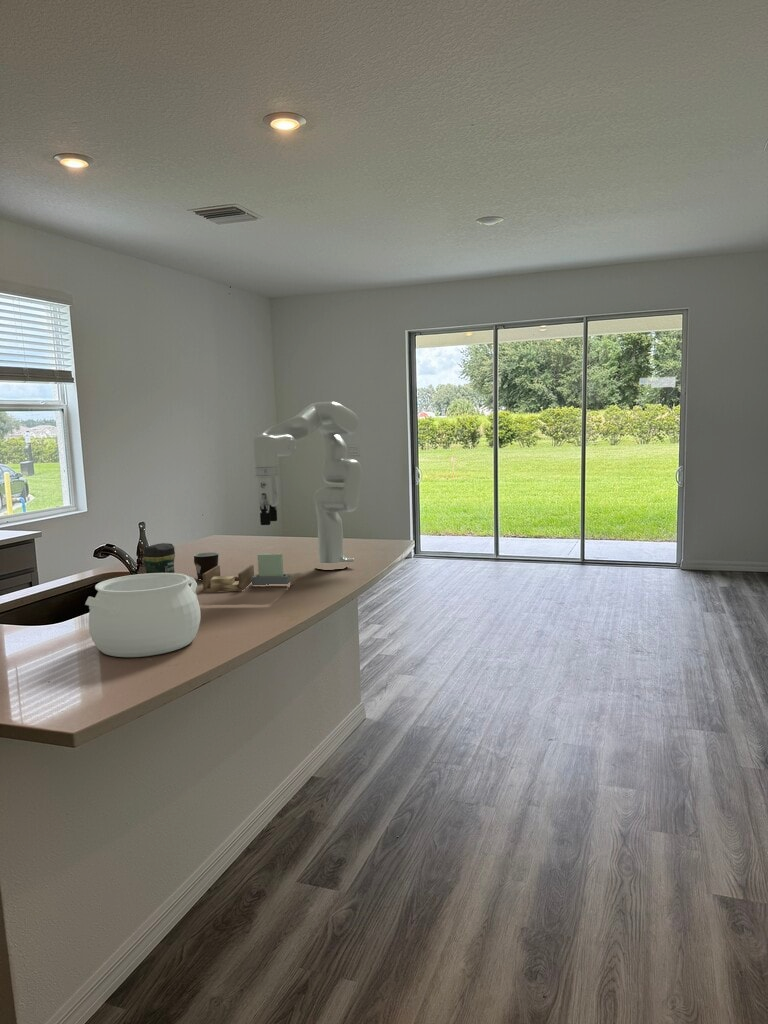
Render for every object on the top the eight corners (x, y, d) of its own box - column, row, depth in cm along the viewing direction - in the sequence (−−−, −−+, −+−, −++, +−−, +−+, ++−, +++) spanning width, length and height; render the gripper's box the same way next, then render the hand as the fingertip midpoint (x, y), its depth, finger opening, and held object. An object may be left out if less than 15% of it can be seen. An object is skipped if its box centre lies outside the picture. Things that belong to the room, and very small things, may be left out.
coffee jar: (162, 606, 216) (158, 546, 214) (141, 604, 219) (138, 545, 217) (182, 598, 225) (178, 542, 223) (162, 597, 228) (158, 541, 226)
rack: (254, 585, 243) (253, 565, 243) (242, 594, 228) (241, 573, 228) (218, 585, 244) (217, 565, 244) (203, 595, 230) (202, 574, 229)
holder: (291, 586, 240) (290, 573, 239) (287, 590, 234) (286, 577, 233) (256, 586, 241) (256, 573, 240) (252, 590, 235) (251, 577, 234)
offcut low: (241, 587, 235) (241, 582, 234) (237, 590, 230) (237, 584, 230) (215, 588, 235) (214, 582, 235) (210, 591, 231) (210, 585, 231)
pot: (168, 624, 195) (164, 566, 193) (228, 639, 178) (224, 577, 176) (64, 650, 172) (59, 586, 171) (121, 671, 156) (116, 600, 154)
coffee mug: (221, 582, 249) (220, 555, 248) (196, 585, 245) (195, 557, 244) (216, 577, 259) (215, 550, 258) (193, 579, 256) (191, 552, 255)
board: (283, 585, 238) (282, 553, 236) (282, 586, 236) (281, 554, 234) (260, 585, 238) (259, 553, 237) (259, 586, 236) (257, 554, 235)
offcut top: (234, 581, 235) (234, 576, 235) (232, 584, 230) (231, 578, 230) (214, 582, 235) (213, 576, 235) (210, 585, 230) (210, 579, 230)
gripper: (271, 473, 225) (274, 526, 227) (283, 470, 242) (285, 519, 244) (248, 474, 225) (251, 526, 227) (261, 471, 242) (264, 519, 244)
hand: (269, 523), depth 235 cm, fingers open, 9 cm apart
